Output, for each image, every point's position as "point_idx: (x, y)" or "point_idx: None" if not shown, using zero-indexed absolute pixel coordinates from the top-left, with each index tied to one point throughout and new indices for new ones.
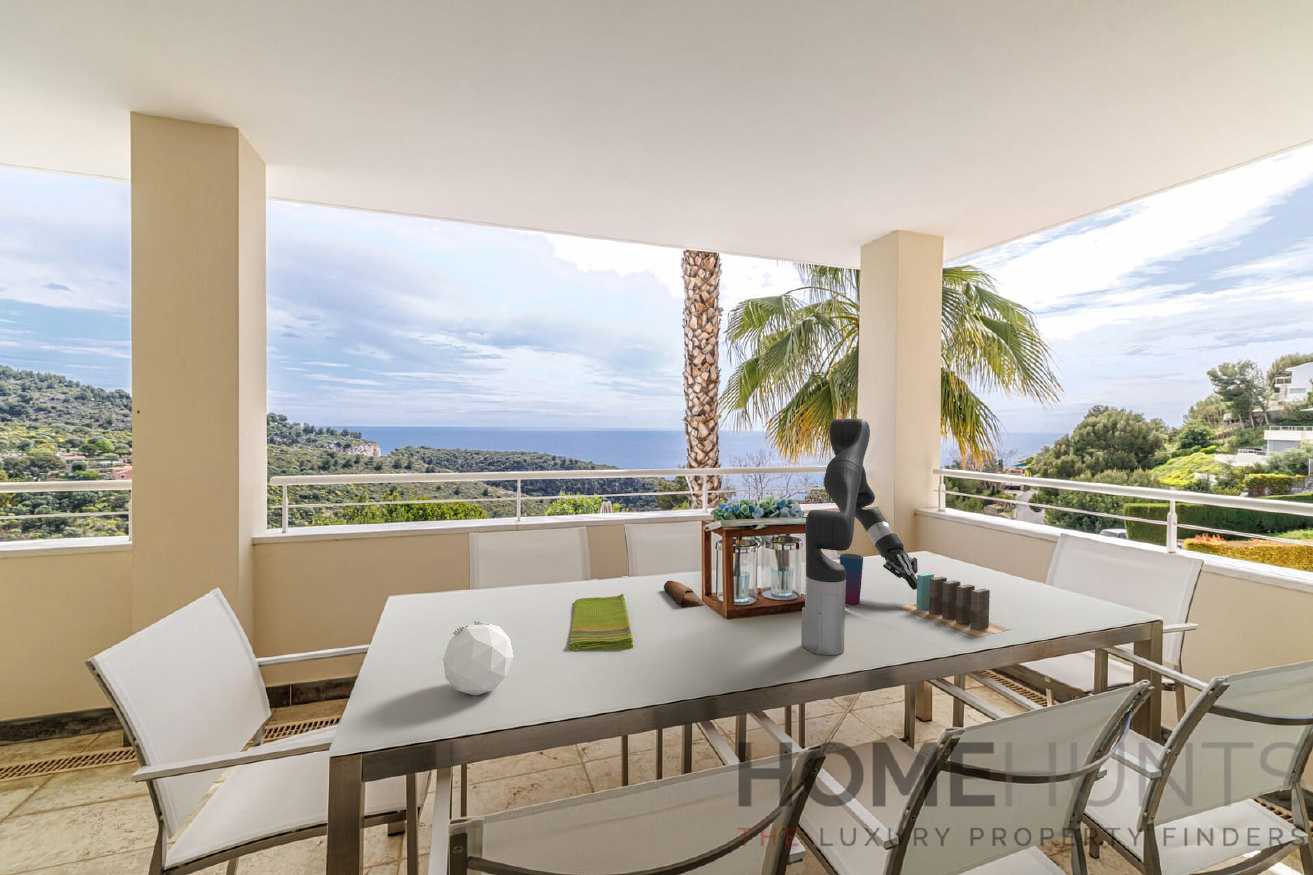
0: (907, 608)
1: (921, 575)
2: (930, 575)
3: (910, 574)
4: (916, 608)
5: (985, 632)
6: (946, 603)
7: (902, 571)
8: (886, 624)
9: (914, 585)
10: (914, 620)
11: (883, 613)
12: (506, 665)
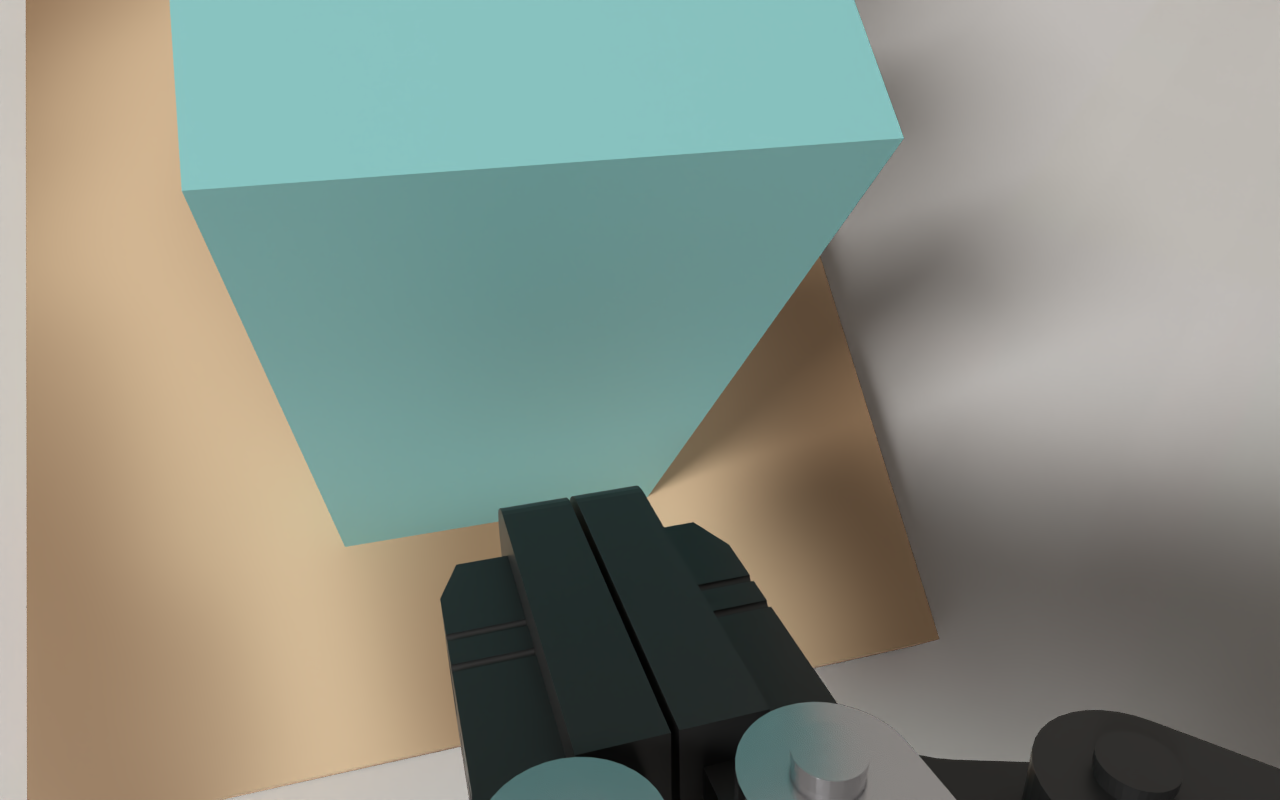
0: (788, 540)
1: (812, 25)
2: (388, 7)
3: (762, 733)
4: (647, 495)
5: None
6: None
7: (1195, 793)
8: (1261, 240)
9: (687, 529)
10: (878, 251)
11: (1150, 574)
12: None
